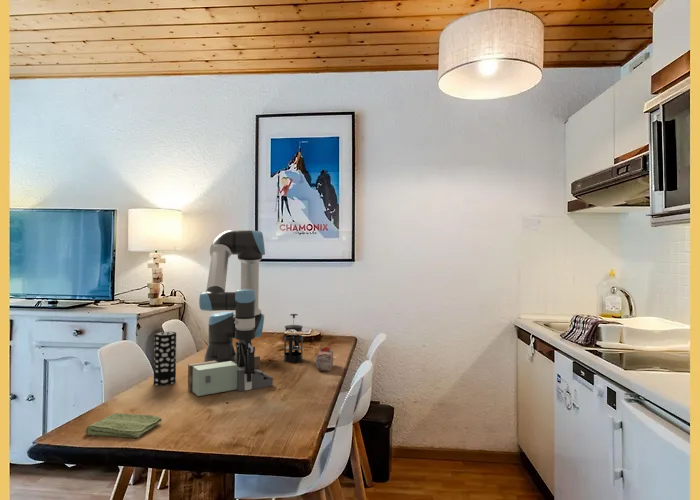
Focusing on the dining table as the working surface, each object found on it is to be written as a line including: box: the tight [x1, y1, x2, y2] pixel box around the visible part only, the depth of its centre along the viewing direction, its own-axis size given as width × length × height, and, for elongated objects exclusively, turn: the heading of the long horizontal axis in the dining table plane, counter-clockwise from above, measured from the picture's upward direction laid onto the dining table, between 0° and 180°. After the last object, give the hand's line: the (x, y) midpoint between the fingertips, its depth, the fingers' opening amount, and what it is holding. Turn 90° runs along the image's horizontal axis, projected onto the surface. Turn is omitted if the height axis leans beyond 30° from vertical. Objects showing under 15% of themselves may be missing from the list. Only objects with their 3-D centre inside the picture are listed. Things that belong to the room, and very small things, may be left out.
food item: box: [315, 346, 334, 372], centre depth 207 cm, size 14×8×10 cm, turn 1°
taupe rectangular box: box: [187, 354, 261, 393], centre depth 180 cm, size 3×28×10 cm, turn 126°
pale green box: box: [192, 361, 237, 397], centre depth 172 cm, size 8×15×10 cm, turn 126°
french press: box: [283, 313, 304, 364], centre depth 222 cm, size 12×9×23 cm
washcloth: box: [84, 412, 163, 439], centre depth 135 cm, size 13×18×3 cm
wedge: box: [235, 366, 274, 392], centre depth 178 cm, size 5×14×8 cm, turn 124°
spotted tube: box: [153, 331, 177, 387], centre depth 182 cm, size 8×8×20 cm
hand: (245, 387), depth 176 cm, fingers closed on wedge, 5 cm apart
